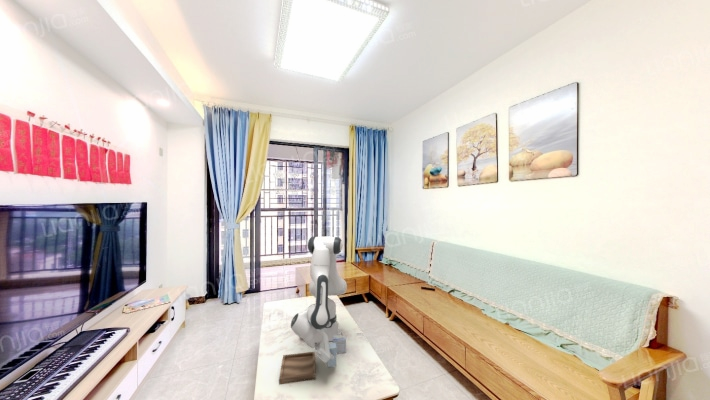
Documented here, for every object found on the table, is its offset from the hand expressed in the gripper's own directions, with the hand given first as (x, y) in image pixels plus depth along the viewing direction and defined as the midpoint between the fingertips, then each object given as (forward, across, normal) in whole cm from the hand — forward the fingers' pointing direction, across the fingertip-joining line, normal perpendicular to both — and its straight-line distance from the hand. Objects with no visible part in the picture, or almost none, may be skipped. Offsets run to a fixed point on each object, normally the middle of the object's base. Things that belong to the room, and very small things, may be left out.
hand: (332, 353), depth 128 cm
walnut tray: (-7, +4, +20) cm, 21 cm away
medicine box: (+10, +15, +3) cm, 18 cm away
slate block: (+3, 0, +4) cm, 5 cm away
